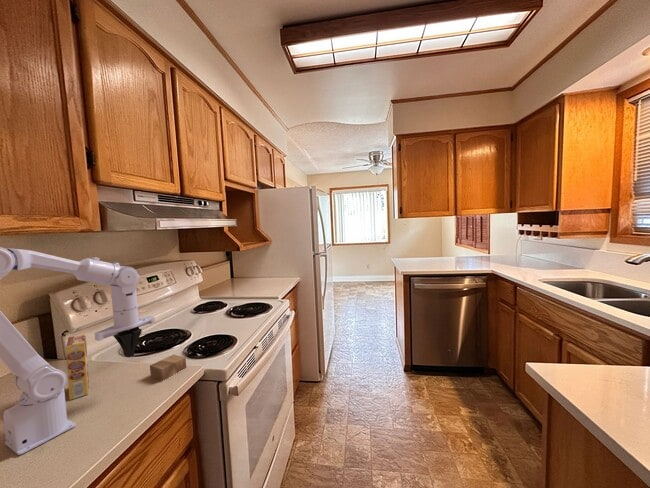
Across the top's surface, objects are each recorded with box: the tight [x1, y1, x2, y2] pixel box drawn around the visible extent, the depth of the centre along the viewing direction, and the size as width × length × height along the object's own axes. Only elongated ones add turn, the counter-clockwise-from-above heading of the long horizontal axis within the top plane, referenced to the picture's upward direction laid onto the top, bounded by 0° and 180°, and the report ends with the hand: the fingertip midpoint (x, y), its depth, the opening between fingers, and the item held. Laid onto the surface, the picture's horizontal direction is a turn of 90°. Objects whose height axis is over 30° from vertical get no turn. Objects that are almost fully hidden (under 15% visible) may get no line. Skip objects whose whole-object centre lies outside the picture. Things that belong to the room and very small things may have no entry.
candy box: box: [65, 333, 90, 400], centre depth 80 cm, size 9×4×15 cm, turn 39°
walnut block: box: [149, 354, 187, 382], centre depth 89 cm, size 4×6×8 cm
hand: (129, 355), depth 79 cm, fingers closed
